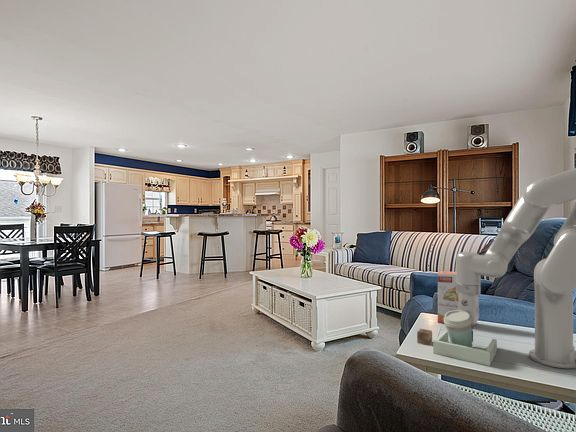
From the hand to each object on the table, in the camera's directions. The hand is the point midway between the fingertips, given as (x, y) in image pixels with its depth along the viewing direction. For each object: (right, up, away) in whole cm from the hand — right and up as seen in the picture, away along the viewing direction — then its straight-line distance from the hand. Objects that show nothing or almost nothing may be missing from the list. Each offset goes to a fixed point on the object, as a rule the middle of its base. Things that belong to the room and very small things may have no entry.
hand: (467, 341), depth 122 cm
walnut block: (-13, -2, +4) cm, 14 cm away
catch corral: (-3, -2, -5) cm, 7 cm away
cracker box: (+8, -1, +25) cm, 27 cm away
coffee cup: (-3, -1, -4) cm, 5 cm away
